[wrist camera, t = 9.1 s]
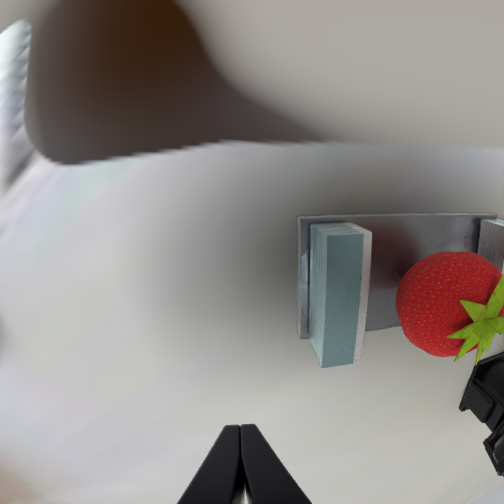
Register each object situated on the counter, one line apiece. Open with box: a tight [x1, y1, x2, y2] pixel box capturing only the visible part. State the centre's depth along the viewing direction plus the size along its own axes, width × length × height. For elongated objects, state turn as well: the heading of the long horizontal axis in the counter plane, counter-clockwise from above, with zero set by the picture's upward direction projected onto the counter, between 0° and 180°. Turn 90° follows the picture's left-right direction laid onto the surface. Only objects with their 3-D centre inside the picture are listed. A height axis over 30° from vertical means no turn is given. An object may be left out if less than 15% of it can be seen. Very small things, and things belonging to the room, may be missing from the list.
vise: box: [297, 213, 504, 340], centre depth 18 cm, size 16×8×5 cm, turn 93°
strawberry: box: [395, 252, 504, 365], centre depth 15 cm, size 6×8×10 cm
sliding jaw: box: [309, 222, 372, 368], centre depth 17 cm, size 2×8×4 cm, turn 3°
